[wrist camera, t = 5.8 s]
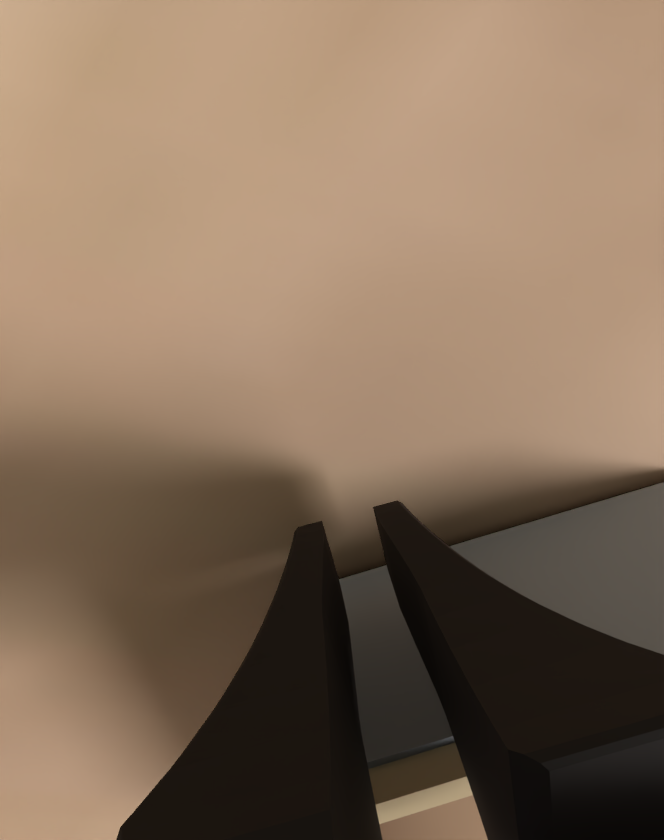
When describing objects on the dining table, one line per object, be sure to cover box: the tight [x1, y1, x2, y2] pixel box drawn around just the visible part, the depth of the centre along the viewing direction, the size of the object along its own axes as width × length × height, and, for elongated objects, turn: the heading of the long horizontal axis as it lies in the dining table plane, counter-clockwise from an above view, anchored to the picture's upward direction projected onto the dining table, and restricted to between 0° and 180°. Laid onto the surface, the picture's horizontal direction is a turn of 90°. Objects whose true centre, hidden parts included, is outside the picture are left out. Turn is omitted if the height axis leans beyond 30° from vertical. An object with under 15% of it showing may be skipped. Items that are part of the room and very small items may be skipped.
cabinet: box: [379, 795, 488, 840], centre depth 13 cm, size 12×8×5 cm, turn 103°
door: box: [339, 482, 664, 824], centre depth 11 cm, size 13×1×6 cm, turn 105°
